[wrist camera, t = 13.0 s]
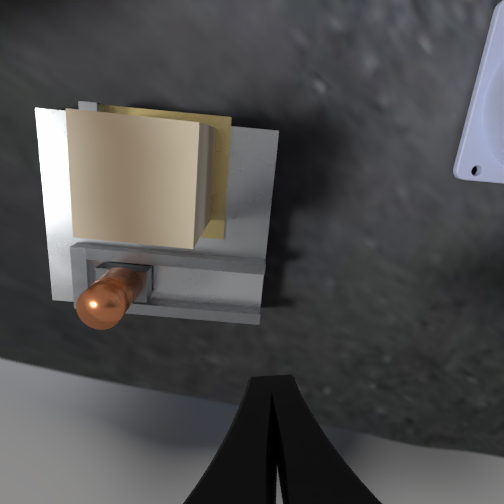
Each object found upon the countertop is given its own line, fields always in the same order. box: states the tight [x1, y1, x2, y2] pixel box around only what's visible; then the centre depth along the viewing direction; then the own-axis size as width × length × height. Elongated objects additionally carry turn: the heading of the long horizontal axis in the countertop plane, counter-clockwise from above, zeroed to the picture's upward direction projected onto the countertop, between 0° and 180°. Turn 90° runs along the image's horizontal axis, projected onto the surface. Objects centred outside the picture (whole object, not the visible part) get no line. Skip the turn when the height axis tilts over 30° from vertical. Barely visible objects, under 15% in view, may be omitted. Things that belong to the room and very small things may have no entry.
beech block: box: [65, 108, 216, 249], centre depth 15 cm, size 4×4×5 cm
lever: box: [76, 262, 152, 330], centre depth 17 cm, size 3×2×4 cm
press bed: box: [35, 101, 279, 325], centre depth 18 cm, size 12×10×2 cm
